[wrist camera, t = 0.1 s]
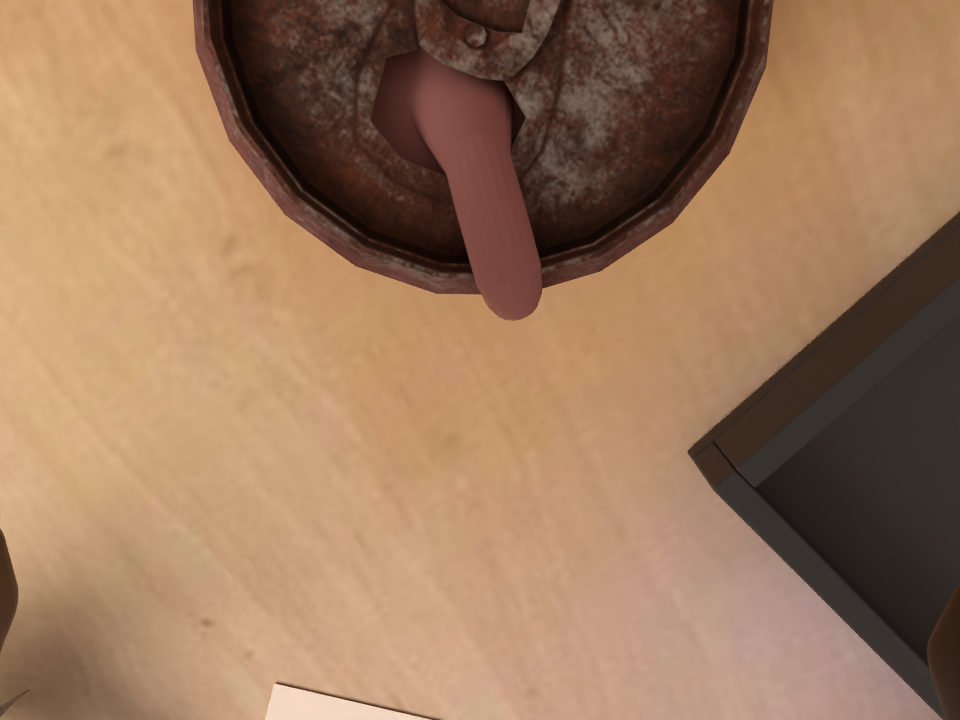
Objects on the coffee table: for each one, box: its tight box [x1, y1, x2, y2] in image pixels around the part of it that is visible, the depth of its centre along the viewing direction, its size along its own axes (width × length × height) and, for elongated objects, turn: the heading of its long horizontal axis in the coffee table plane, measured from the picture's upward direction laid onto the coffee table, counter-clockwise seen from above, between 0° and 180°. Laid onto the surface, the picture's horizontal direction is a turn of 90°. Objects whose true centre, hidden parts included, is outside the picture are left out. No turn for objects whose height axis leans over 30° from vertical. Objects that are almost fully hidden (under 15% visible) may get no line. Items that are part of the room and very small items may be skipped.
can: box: [193, 0, 773, 321], centre depth 15 cm, size 6×6×14 cm
